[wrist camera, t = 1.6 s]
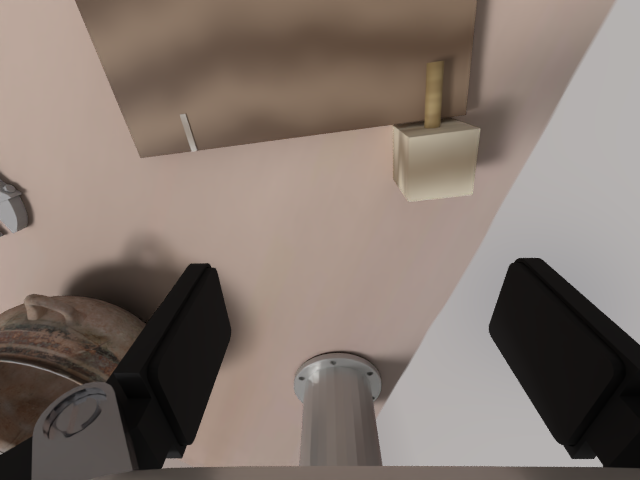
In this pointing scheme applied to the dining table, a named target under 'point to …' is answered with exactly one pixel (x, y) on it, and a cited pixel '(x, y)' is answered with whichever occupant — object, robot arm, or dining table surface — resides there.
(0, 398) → the cooking pot
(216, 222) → the dining table surface
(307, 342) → the dining table surface
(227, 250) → the dining table surface
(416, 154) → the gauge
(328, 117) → the board
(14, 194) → the adjustable wrench
